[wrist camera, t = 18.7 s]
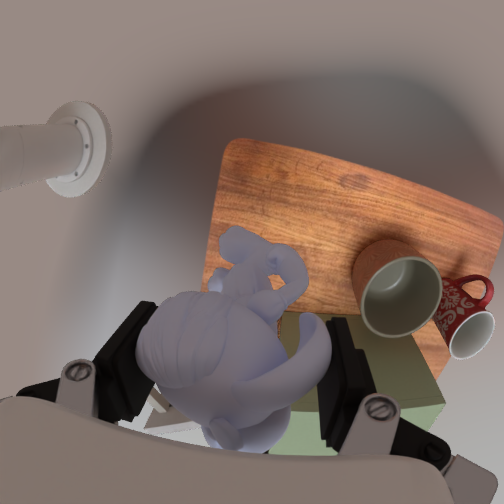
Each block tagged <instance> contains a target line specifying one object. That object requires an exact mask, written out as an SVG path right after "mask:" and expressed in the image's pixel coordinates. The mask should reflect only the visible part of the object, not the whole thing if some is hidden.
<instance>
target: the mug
mask: <svg viewBox="0 0 504 504" xmlns="http://www.w3.org/2000/svg"><path fill="white" fill-rule="evenodd" d="M476 280H482V281H483V282H484V283H485V285H486V293H485V296H484V297H483V298H482V299H476V298H472V297H471V296H470V295H469V294H468V293H466V292H465V291H464V290H463V289H462V286H463V284H465V283H468V282H471V281H476ZM442 286H443V289H442V297H441V301H440V304H439V306H438V308H437V310H436V312H435V313H434V315H433V316H432V319H433V321H434V322H435V324H436V326H437V328H438V330H439V331H440V333H441V335H442V337H443V339H444V341H445V342H446V344H447V346H448V348H449V352H450V354H451V356H452V357H453V358H455V359H458V360H462V359H467V358H470V357H472V356H474V355H475V354H477V353H478V352H479V351H481V350H482V349H483V348H484V346H485V345H486V344H487V343H488V341H489V340H490V338H491V336H492V334H493V332H494V328H495V318H494V316H493V315H492V313H491V312H489V311H486V310H485V307H486V305H487V304H488V303H489V302H490V301H491V299H492V297H493V294H494V287H493V284H492V282H491V281H490V280H489V279H488V278H486V277H484V276H482V275H469V276H465V277H462V278H459V279H457V280H455V281H453V280H451V279H449V278H442Z"/></svg>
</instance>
